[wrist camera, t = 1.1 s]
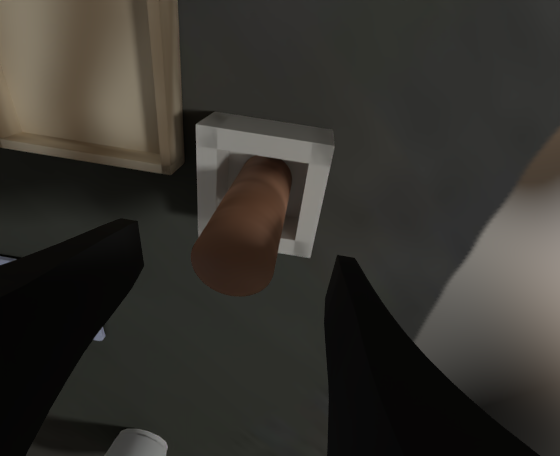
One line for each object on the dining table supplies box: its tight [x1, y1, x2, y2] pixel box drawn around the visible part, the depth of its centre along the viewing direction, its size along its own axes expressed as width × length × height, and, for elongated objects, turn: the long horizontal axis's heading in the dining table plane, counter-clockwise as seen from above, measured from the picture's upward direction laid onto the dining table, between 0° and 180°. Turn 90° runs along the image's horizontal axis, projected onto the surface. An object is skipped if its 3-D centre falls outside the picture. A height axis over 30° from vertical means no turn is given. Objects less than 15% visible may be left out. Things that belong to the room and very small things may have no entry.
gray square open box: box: [196, 112, 335, 258], centre depth 17 cm, size 6×6×3 cm
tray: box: [0, 0, 185, 175], centre depth 14 cm, size 10×12×2 cm
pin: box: [191, 155, 292, 296], centre depth 14 cm, size 3×3×8 cm
